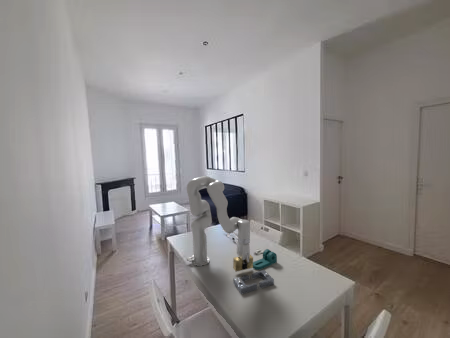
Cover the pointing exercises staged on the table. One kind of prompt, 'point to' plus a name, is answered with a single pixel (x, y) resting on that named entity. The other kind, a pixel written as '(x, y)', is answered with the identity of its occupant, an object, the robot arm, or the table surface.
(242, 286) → the grey pocketed fixture tray
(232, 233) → the miniature set
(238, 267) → the yellow rectangular block
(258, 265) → the bracket
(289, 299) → the table surface
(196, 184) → the robot arm
